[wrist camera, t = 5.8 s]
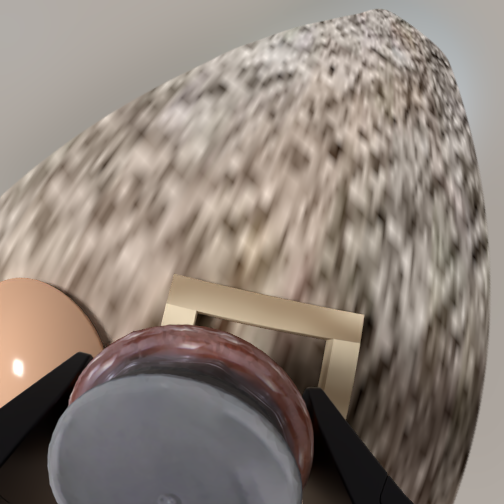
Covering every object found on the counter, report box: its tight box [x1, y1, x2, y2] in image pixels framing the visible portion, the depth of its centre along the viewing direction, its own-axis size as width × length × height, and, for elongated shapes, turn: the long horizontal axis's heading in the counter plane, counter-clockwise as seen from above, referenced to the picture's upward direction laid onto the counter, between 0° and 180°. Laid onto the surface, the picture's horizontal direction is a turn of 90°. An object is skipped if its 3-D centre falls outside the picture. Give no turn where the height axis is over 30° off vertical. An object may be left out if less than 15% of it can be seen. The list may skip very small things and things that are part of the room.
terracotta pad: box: [0, 278, 104, 408], centre depth 18 cm, size 15×15×1 cm
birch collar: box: [161, 274, 364, 420], centre depth 20 cm, size 13×13×2 cm
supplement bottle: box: [47, 324, 314, 504], centre depth 9 cm, size 6×6×11 cm
